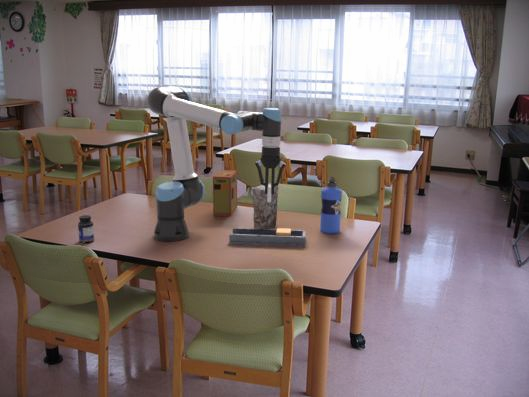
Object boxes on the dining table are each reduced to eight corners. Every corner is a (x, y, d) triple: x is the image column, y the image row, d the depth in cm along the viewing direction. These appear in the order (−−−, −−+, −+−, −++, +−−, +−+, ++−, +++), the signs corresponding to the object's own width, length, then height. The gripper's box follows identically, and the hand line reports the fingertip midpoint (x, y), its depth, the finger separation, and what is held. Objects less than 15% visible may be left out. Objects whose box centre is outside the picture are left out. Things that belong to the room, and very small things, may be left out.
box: (220, 207, 285) (220, 170, 280) (237, 207, 284) (237, 170, 279) (213, 215, 269) (212, 176, 264) (230, 216, 268) (230, 177, 263)
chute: (229, 244, 227) (229, 235, 226) (233, 235, 238) (233, 226, 237) (304, 247, 224) (305, 238, 223) (305, 238, 235) (305, 229, 234)
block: (276, 241, 227) (276, 232, 226) (277, 236, 233) (277, 228, 232) (290, 241, 227) (290, 232, 226) (290, 237, 233) (291, 228, 232)
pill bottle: (78, 240, 231) (76, 215, 228) (93, 238, 233) (91, 213, 230) (80, 244, 225) (78, 219, 223) (95, 242, 228) (93, 217, 225)
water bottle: (315, 230, 246) (317, 177, 240) (327, 226, 252) (329, 174, 246) (332, 235, 240) (334, 180, 233) (344, 230, 246) (346, 177, 240)
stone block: (265, 232, 243) (265, 189, 238) (251, 229, 247) (251, 187, 242) (278, 224, 255) (279, 183, 250) (265, 222, 258) (265, 182, 253)
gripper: (254, 146, 218) (252, 202, 224) (286, 148, 217) (284, 204, 223) (256, 144, 225) (254, 198, 231) (287, 145, 224) (285, 199, 230)
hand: (269, 201), depth 227 cm, fingers closed
